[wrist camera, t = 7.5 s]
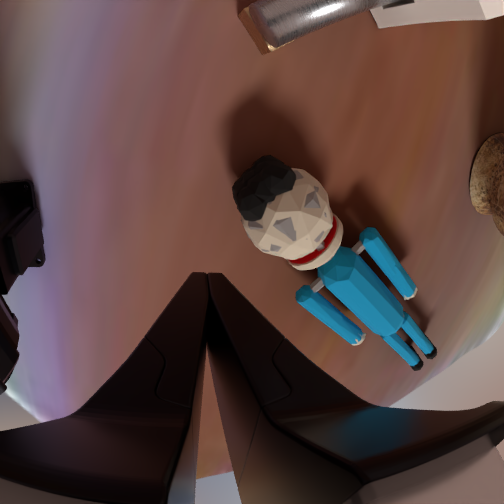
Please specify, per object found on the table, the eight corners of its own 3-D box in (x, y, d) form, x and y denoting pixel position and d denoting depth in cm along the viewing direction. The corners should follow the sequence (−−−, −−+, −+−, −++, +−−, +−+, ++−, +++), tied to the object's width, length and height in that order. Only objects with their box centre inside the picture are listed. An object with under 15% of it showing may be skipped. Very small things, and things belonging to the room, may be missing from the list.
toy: (436, 322, 34) (280, 122, 20) (462, 353, 29) (311, 137, 15) (388, 364, 36) (195, 207, 22) (408, 398, 31) (199, 246, 17)
